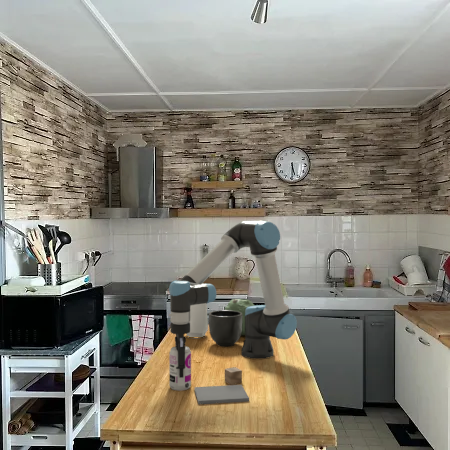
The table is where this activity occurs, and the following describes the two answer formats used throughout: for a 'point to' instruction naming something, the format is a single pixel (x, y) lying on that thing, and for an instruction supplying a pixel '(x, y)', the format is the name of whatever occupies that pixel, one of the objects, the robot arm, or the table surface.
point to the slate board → (221, 394)
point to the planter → (225, 327)
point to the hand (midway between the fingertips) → (180, 381)
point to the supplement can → (173, 371)
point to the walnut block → (233, 376)
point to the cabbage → (239, 309)
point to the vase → (198, 320)
